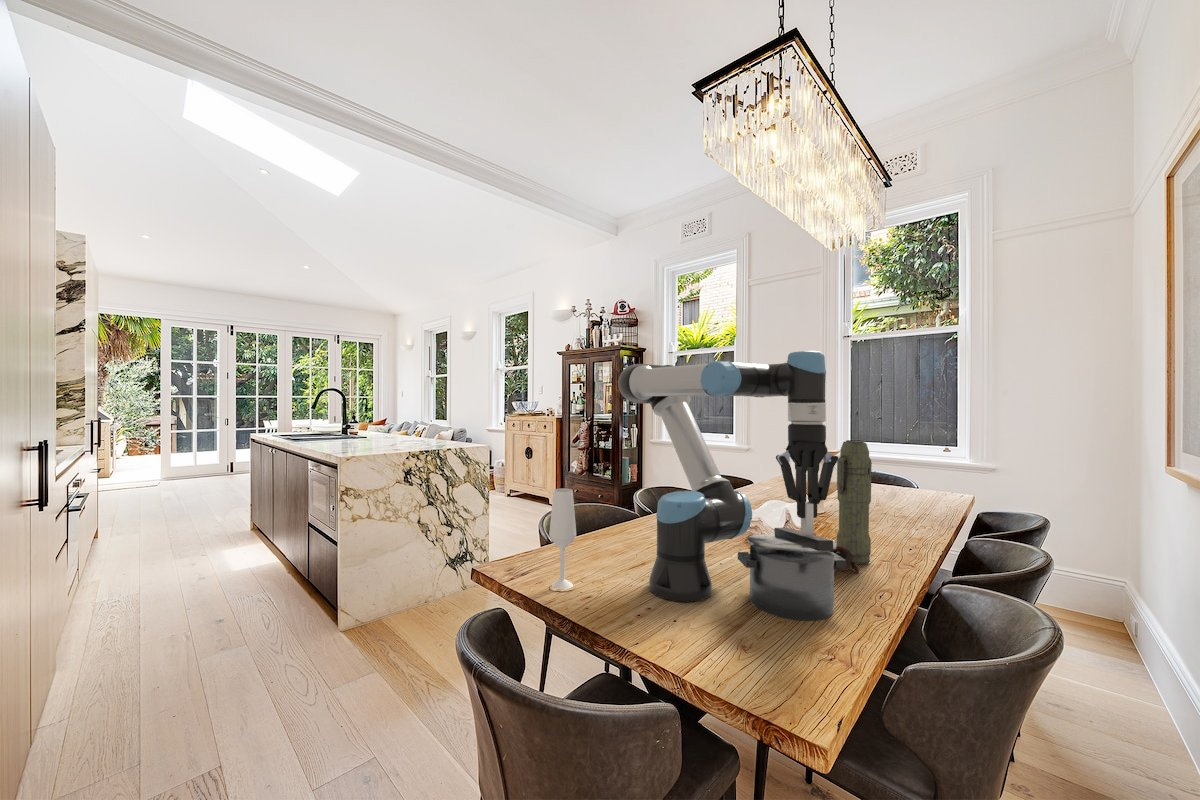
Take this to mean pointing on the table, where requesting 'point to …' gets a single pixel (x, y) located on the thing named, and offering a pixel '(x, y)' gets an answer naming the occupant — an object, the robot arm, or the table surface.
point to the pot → (792, 582)
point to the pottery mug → (848, 557)
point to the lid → (792, 541)
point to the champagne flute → (562, 529)
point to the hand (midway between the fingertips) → (807, 532)
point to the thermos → (854, 499)
